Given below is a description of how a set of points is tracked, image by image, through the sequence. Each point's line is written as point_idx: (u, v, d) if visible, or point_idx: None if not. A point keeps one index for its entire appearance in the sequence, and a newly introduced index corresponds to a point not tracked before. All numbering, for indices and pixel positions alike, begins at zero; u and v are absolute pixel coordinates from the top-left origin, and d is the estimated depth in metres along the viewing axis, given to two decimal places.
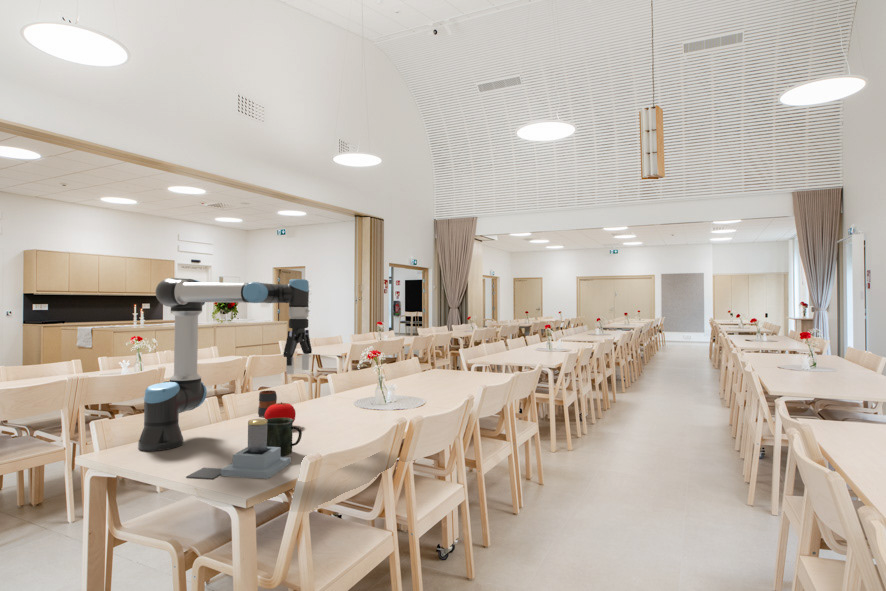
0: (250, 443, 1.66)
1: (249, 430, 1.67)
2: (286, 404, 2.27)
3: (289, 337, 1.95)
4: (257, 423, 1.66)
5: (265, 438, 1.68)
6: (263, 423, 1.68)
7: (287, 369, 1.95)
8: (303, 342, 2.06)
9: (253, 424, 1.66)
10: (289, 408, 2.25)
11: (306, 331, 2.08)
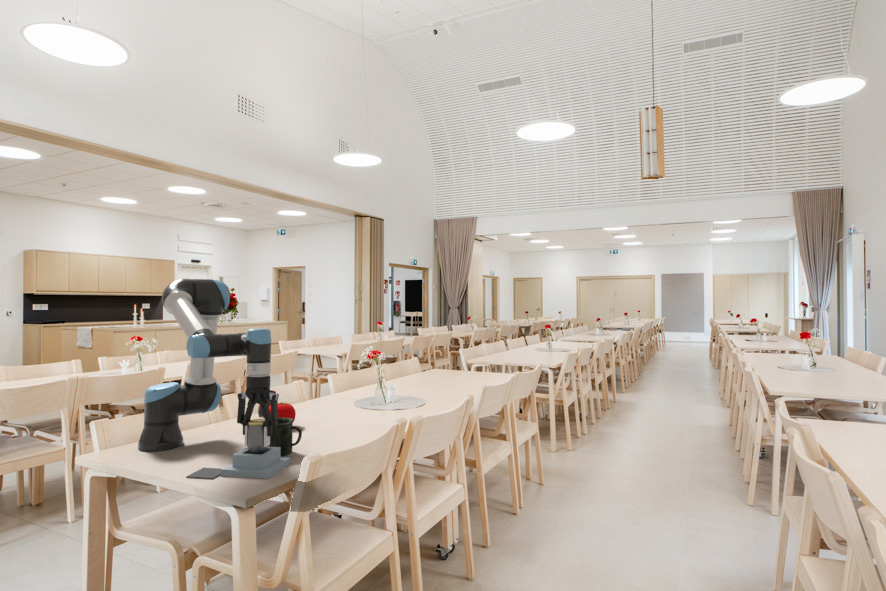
0: (250, 443, 1.66)
1: (249, 430, 1.67)
2: (286, 404, 2.27)
3: None
4: (257, 423, 1.66)
5: None
6: (263, 423, 1.68)
7: None
8: None
9: (253, 424, 1.66)
10: (289, 408, 2.25)
11: None
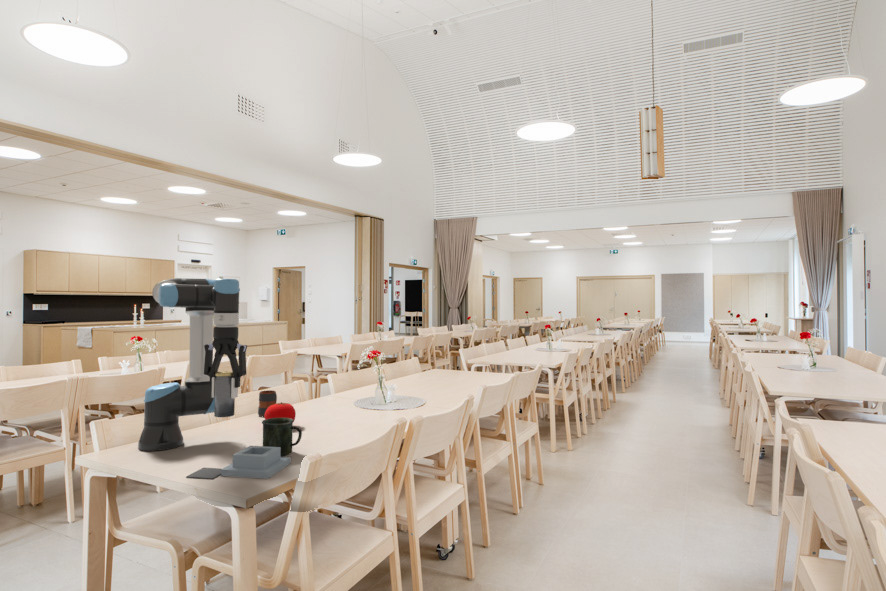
0: (217, 394, 1.63)
1: (216, 381, 1.64)
2: (286, 404, 2.27)
3: None
4: (224, 374, 1.64)
5: None
6: (231, 374, 1.65)
7: None
8: None
9: (220, 375, 1.63)
10: (289, 408, 2.25)
11: None
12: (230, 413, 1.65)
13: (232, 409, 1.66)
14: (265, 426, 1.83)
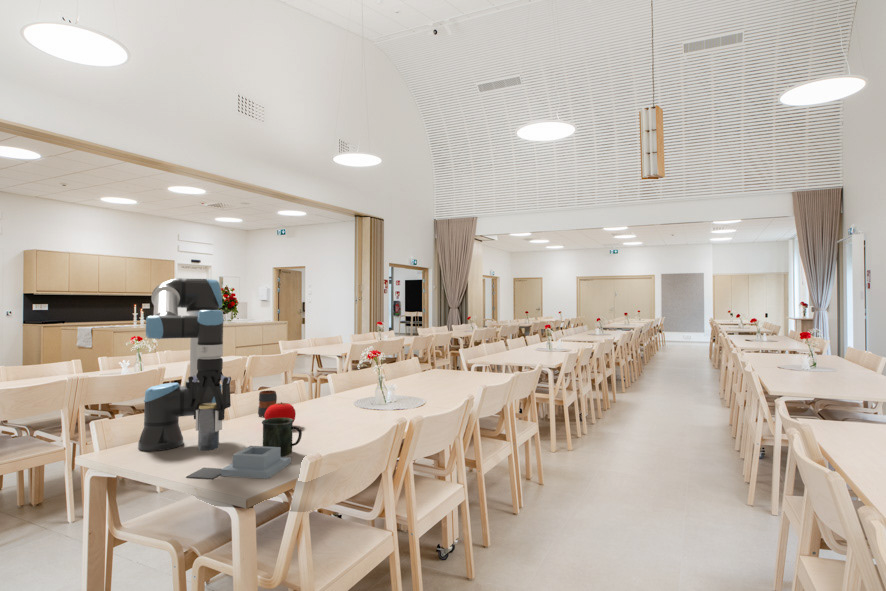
0: (201, 427, 1.61)
1: (199, 414, 1.62)
2: (286, 404, 2.27)
3: None
4: (208, 407, 1.61)
5: None
6: (214, 407, 1.63)
7: None
8: None
9: (203, 408, 1.61)
10: (289, 408, 2.25)
11: (224, 378, 1.63)
12: (214, 446, 1.62)
13: (216, 442, 1.63)
14: (265, 426, 1.83)
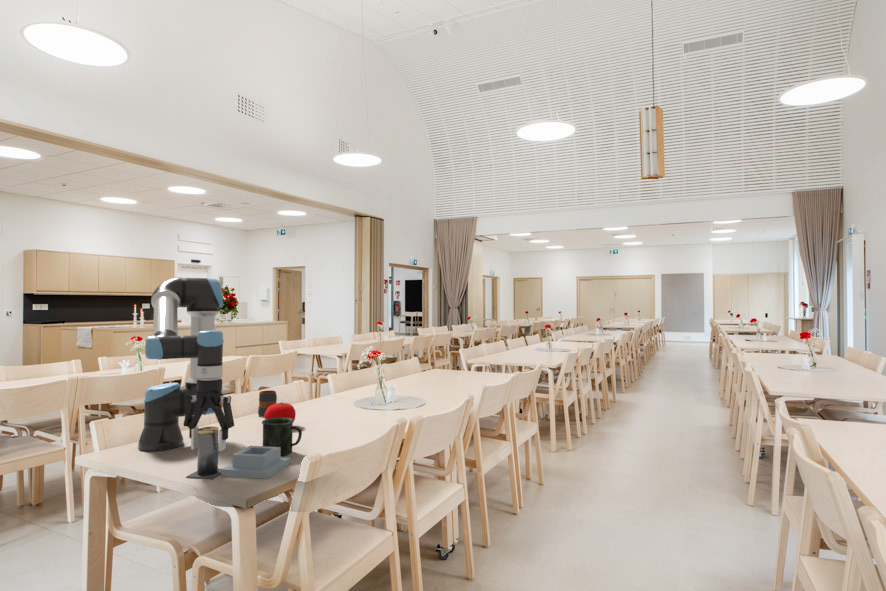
0: (200, 452, 1.61)
1: (199, 439, 1.62)
2: (286, 404, 2.27)
3: None
4: (207, 431, 1.61)
5: (216, 447, 1.63)
6: (213, 431, 1.63)
7: None
8: None
9: (203, 432, 1.61)
10: (289, 408, 2.25)
11: None
12: (213, 471, 1.62)
13: (215, 467, 1.63)
14: (265, 426, 1.83)
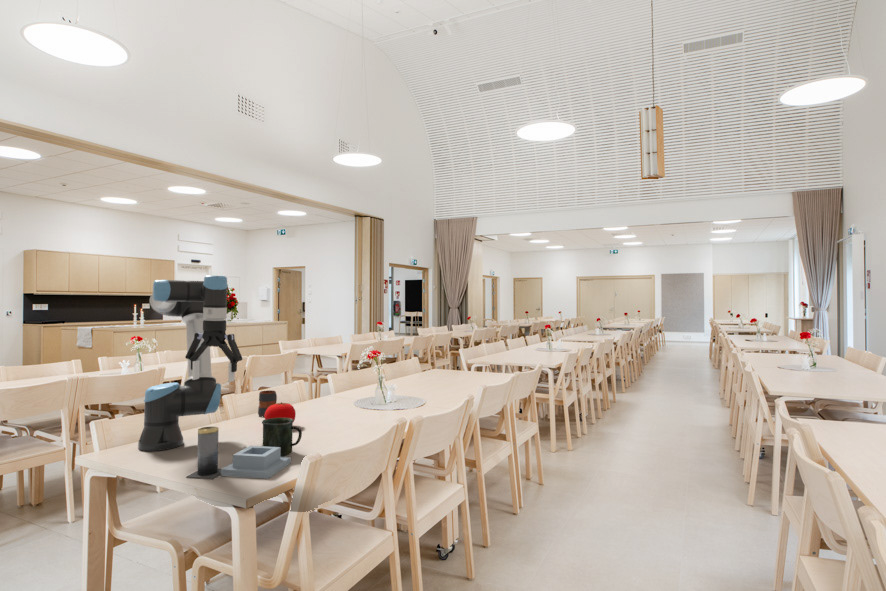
0: (200, 452, 1.61)
1: (199, 439, 1.62)
2: (286, 404, 2.27)
3: None
4: (207, 431, 1.61)
5: (216, 447, 1.63)
6: (213, 431, 1.63)
7: None
8: None
9: (203, 432, 1.61)
10: (289, 408, 2.25)
11: None
12: (213, 471, 1.62)
13: (215, 467, 1.63)
14: (265, 426, 1.83)
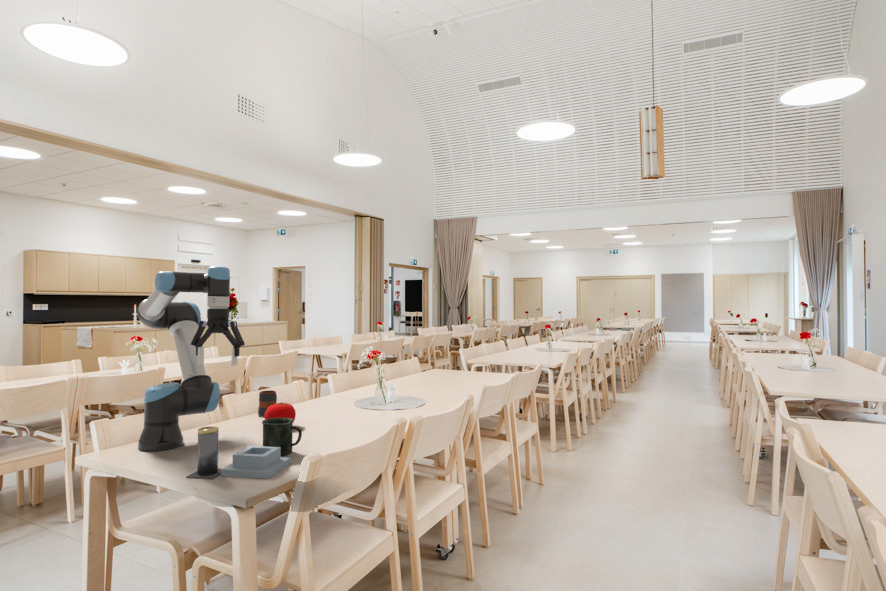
0: (200, 452, 1.61)
1: (199, 439, 1.62)
2: (286, 404, 2.27)
3: None
4: (207, 431, 1.61)
5: (216, 447, 1.63)
6: (213, 431, 1.63)
7: None
8: None
9: (203, 432, 1.61)
10: (289, 408, 2.25)
11: None
12: (213, 471, 1.62)
13: (215, 467, 1.63)
14: (265, 426, 1.83)
